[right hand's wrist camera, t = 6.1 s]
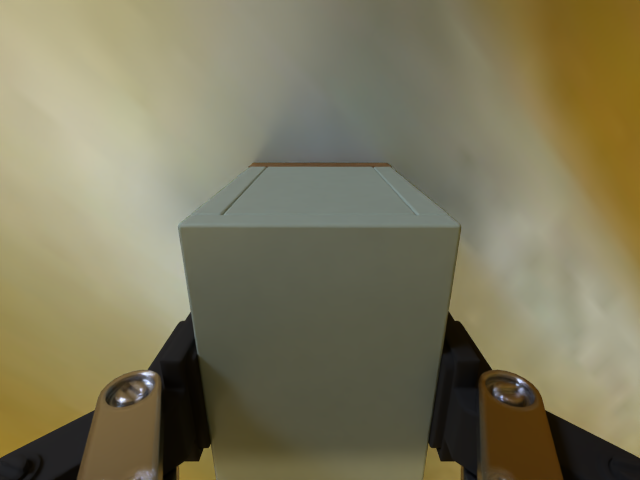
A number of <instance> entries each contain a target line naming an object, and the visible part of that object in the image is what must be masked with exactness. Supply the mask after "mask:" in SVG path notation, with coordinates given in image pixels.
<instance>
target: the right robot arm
mask: <svg viewBox="0 0 640 480" xmlns="http://www.w3.org/2000/svg"><path fill="white" fill-rule="evenodd" d="M210 444H211V440H210V434H209V427H208V421H207V414H206V408H205V401H204V394H203V388H202V381H201V375H200V368H199V361H198V355H197V348H196V342H195V335H194V328H193V322H192V315H191V312H190V314H189V315H188V317H187V319H186V320H185V321H181V322H179V324H178V325H177V326H176V328H175V329H174V331H173V332H172V334H171V335H170V337H169V338H168V340H167V341H166V343H165V344H164V346H163V347H162V349H161V350H160V352H159V353H158V355H157V356H156V358H155V359H154V361H153V363H152V364H151V366H150V367H149V369H148V370H137V371H132V372H129V373H126V374H123V375H121V376H119V377H117V378H115V379H114V380H113V381H111V382H110V383H109V384H107V385H106V386H105V388H104V389H103V390H102V391H101V393H100V395H99V397H98V400H97V404H96V408H95V410H94V411H92V412H90V413H88V414H86V415H84V416H82V417H80V418H78V419H76V420H74V421H72V422H70V423H68V424H66V425H64V426H62V427H60V428H58V429H56V430H54V431H53V432H51V433H49V434H47V435H45V436H43V437H41V438H39V439H37V440H35V441H33V442H31V443H29V444H27V445H25V446H23V447H21V448H19V449H17V450H15V451H13V452H11V453H9V454H7V455H5V456H3V457H2V458H0V480H179V466H178V465H180V464H181V463H183V462H184V461H199V460H200V457H201V454H202V451H203V448H209V446H210ZM429 445H430V447H431V448H436V449H437V452H438V455H439V458H440V460H441V461H456V462H457V463H459V464H460V465H461V480H640V458H638V457H636V456H635V455H633V454H631V453H629V452H627V451H625V450H623V449H621V448H619V447H617V446H615V445H613V444H611V443H609V442H607V441H605V440H603V439H601V438H599V437H597V436H595V435H593V434H591V433H589V432H587V431H585V430H583V429H581V428H579V427H577V426H575V425H573V424H571V423H569V422H568V421H566V420H564V419H562V418H560V417H558V416H556V415H554V414H552V413H550V412H548V411H546V410H545V408H544V404H543V400H542V397H541V395H540V393H539V391H538V390H537V389H536V388H535V386H534V385H533V384H531V383H530V382H529V381H527V380H526V379H525V378H523V377H521V376H519V375H517V374H514V373H511V372H508V371H503V370H492V369H491V367H490V366H489V364H488V363H487V361H486V360H485V358H484V357H483V355H482V354H481V352H480V351H479V349H478V348H477V346H476V345H475V343H474V342H473V340H472V339H471V337H470V336H469V334H468V333H467V331H466V330H465V328H464V327H463V325H462V324H461V323H460V322H459V321H454V319H453V317H452V316H451V314H450V313H449V311H448V318H447V324H446V331H445V337H444V344H443V350H442V357H441V363H440V370H439V377H438V383H437V390H436V396H435V403H434V409H433V416H432V423H431V429H430V436H429Z"/></svg>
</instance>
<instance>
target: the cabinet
mask: <svg viewBox="0 0 640 480" xmlns="http://www.w3.org/2000/svg"><path fill="white" fill-rule="evenodd" d="M178 230H179V236H180V243H181V249H182V256H183V263H184V269H185V276H186V282H187V289H188V296H189V302H190V309H191V315H192V322H193V328H194V335H195V342H196V348H197V355H198V361H199V368H200V375H201V381H202V388H203V394H204V401H205V408H206V414H207V421H208V427H209V434H210V440H211V447H212V454H213V460H214V467H215V473H216V480H423V475H424V468H425V462H426V455H427V449H428V442H429V436H430V429H431V423H432V416H433V409H434V403H435V396H436V390H437V383H438V377H439V370H440V363H441V357H442V350H443V344H444V337H445V331H446V324H447V318H448V311H449V304H450V298H451V291H452V285H453V278H454V272H455V265H456V258H457V252H458V245H459V239H460V232H461V225H460V224H459V223H458V222H457V221H456V220H455V219H453V218H452V217H451V216H449V214H448V213H447V212H445V211H444V210H443V209H442V208H440V207H439V206H438V205H437V204H435V203H434V202H433V201H432V200H431V199H429V198H428V197H427V196H426V195H424V194H423V193H422V192H421V191H419V190H418V189H417V188H416V187H415V186H413V185H412V184H411V183H410V182H408V181H407V180H406V179H405V178H403V177H402V176H401V175H400V174H399V173H397V172H396V171H395V170H394V169H392V167H391V166H390V165H389V164H388V163H252V164H251V165H250V166H249V168H248V169H247V170H245V171H244V172H243V173H242V174H240V175H239V176H238V177H237V178H236V179H234V180H233V181H232V182H231V183H229V184H228V185H227V186H226V187H224V188H223V189H222V190H221V191H219V192H218V193H217V194H216V195H214V196H213V197H212V198H211V199H209V200H208V201H207V202H206V203H204V204H203V205H202V206H201V207H199V208H198V209H197V210H196V211H195V212H193V213H192V214H191V215H190V216H188V217H187V218H186V219H185V220H183V221H182V222H181V223H180V224H179V226H178Z"/></svg>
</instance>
